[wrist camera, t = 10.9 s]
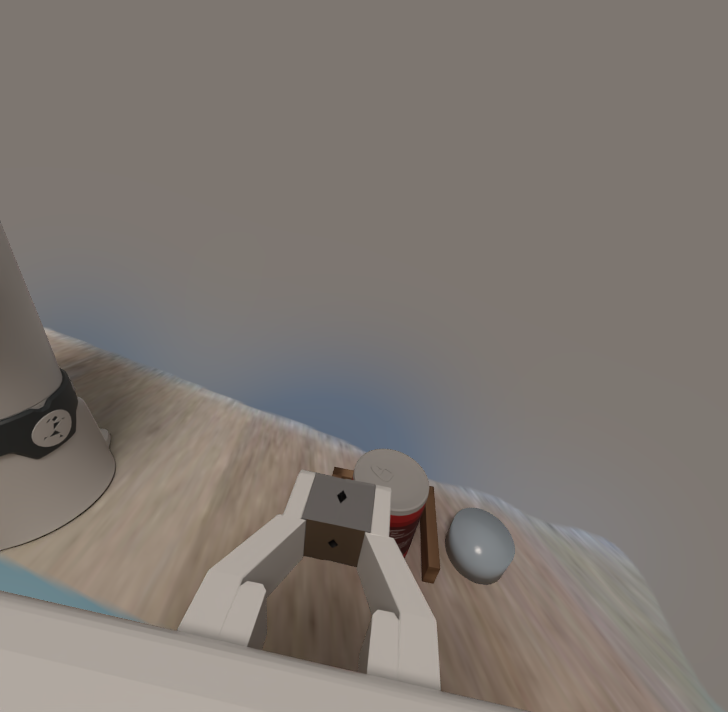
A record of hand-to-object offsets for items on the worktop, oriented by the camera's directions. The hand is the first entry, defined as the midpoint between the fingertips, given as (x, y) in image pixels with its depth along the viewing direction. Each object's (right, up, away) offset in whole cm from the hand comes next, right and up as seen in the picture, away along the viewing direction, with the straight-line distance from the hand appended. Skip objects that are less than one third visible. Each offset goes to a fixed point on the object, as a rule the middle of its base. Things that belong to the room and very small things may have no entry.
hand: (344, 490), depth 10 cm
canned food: (+2, -18, +27) cm, 33 cm away
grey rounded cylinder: (+14, -19, +28) cm, 36 cm away
